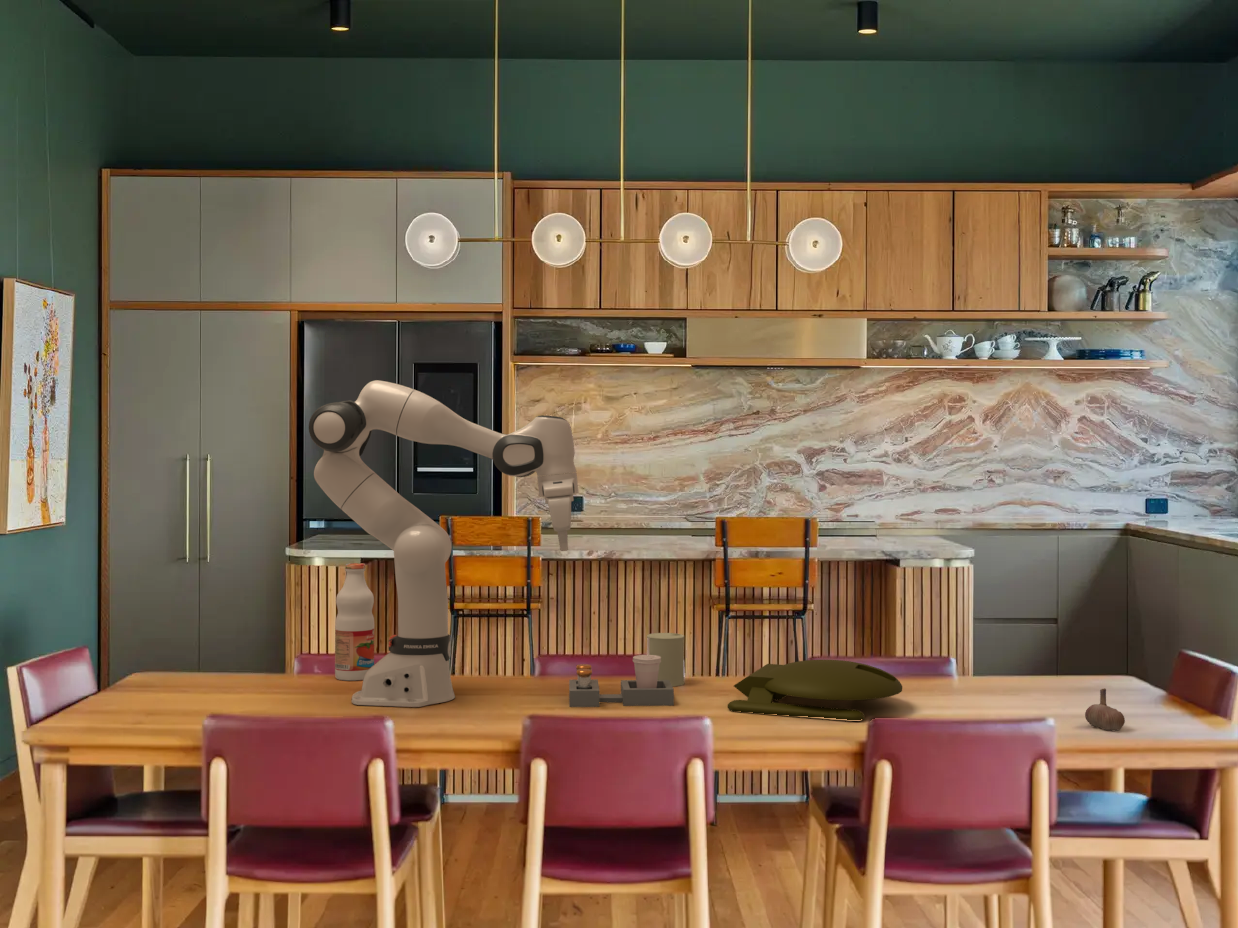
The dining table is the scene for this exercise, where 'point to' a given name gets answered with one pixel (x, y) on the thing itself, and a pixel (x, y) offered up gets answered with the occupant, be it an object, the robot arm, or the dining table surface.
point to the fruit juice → (354, 626)
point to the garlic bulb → (1104, 715)
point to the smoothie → (646, 669)
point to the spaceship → (814, 687)
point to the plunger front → (584, 678)
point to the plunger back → (583, 666)
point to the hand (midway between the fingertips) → (564, 549)
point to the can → (669, 656)
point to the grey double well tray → (622, 694)
